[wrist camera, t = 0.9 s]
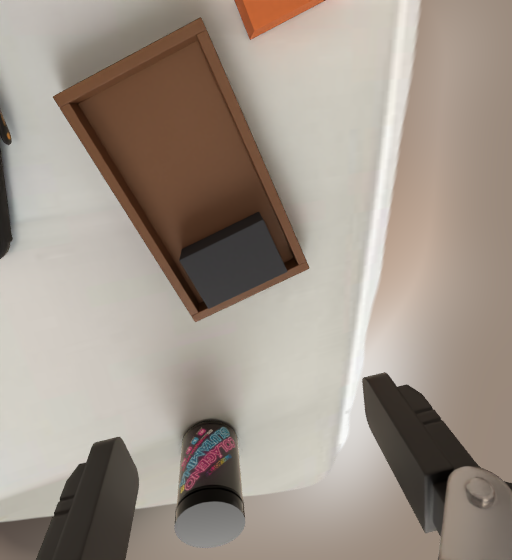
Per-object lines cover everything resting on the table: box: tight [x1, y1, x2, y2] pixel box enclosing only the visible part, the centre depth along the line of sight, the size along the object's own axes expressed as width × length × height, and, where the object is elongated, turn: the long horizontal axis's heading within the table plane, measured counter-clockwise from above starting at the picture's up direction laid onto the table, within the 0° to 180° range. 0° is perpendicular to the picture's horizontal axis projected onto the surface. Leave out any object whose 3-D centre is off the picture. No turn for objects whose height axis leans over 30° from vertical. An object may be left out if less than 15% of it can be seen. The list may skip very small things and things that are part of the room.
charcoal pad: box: [179, 212, 287, 309], centre depth 33 cm, size 5×8×3 cm
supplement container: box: [175, 421, 245, 548], centre depth 39 cm, size 7×7×10 cm
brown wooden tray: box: [53, 18, 309, 322], centre depth 31 cm, size 21×12×3 cm, turn 25°
